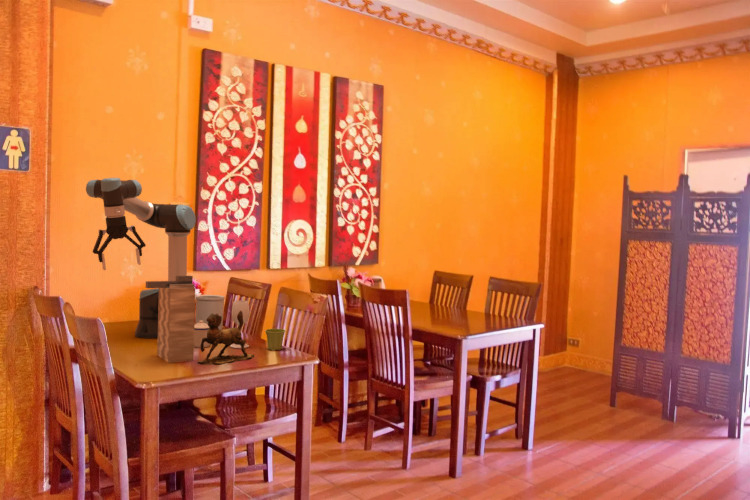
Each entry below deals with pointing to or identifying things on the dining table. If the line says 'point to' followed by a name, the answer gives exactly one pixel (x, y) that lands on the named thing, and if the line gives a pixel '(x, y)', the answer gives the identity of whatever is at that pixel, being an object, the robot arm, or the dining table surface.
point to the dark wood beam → (169, 282)
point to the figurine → (223, 341)
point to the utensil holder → (209, 307)
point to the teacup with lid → (200, 334)
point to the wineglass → (245, 310)
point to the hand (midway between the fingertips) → (122, 266)
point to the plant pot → (275, 338)
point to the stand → (176, 323)
